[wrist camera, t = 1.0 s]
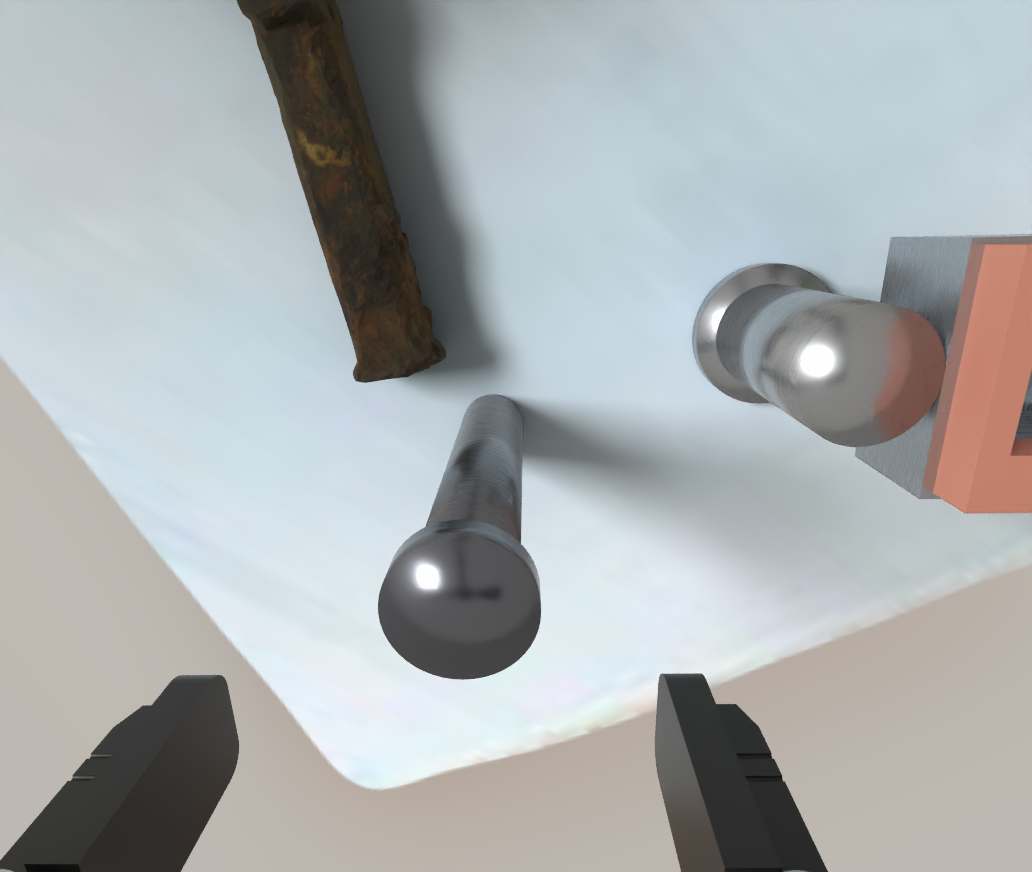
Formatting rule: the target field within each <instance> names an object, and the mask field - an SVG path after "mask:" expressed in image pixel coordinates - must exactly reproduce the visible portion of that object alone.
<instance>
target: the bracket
mask: <svg viewBox="0 0 1032 872" xmlns="http://www.w3.org/2000/svg"><path fill="white" fill-rule="evenodd" d="M1031 371H1032V243H1029V244H985V249H984V254H983V258H982V263H981V268H980V273H979V277H978V282H977V287H976V291H975V296H974V301H973V306H972V310H971V315H970V320H969V325H968V329H967V334H966V339H965V344H964V348H963V353H962V358H961V363H960V367H959V372H958V377H957V381H956V386H955V391H954V396H953V400H952V405H951V410H950V415H949V419H948V424H947V429H946V434H945V438H944V443H943V448H942V453H941V457H940V462H939V467H938V471H937V476H936V481H935V486H934V490H933V493H934V494H935V495H937V496H938V497H940V498H942V499H943V500H945V501H946V502H948V503H950V504H951V505H953V506H954V507H956V508H957V509H959V510H961V511H962V512H964V513H1032V439H1015V435H1016V431H1017V427H1018V423H1019V419H1020V415H1021V411H1022V407H1023V403H1024V399H1025V395H1026V391H1027V387H1028V383H1029V379H1030V375H1031Z"/></svg>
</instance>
